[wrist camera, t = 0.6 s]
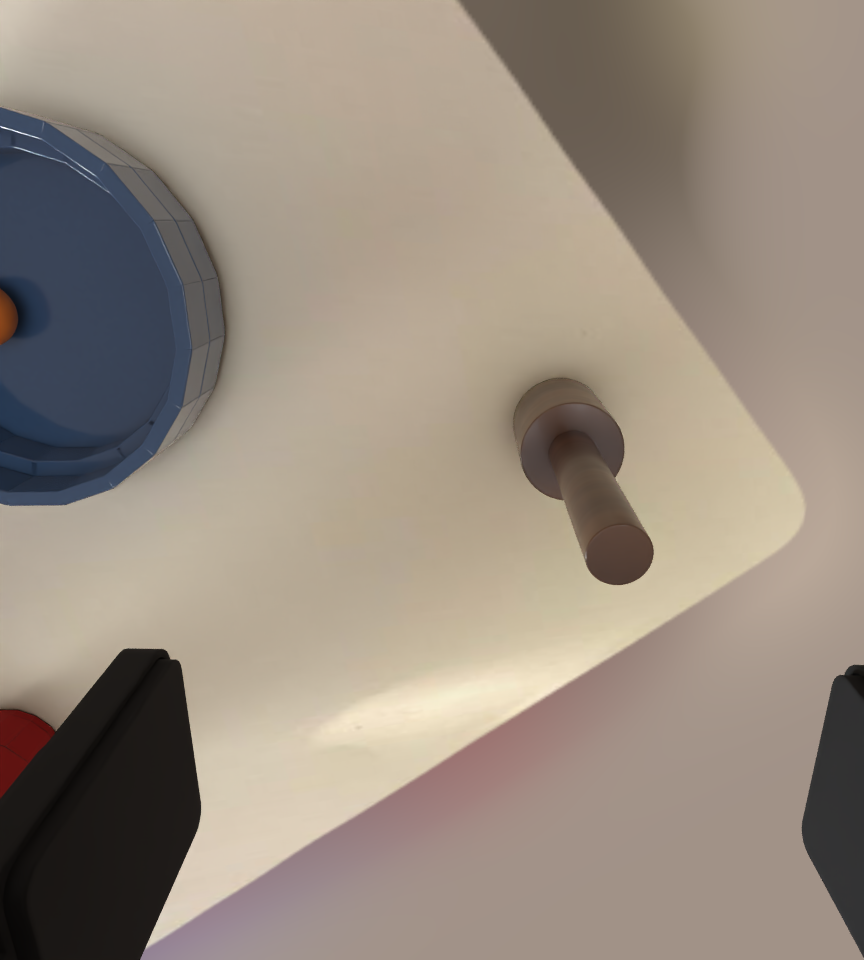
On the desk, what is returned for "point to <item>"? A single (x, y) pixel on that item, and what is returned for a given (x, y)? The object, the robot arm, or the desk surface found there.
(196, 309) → the bowl
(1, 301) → the bead
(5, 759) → the plastic cup
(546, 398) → the pestle
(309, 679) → the desk surface
